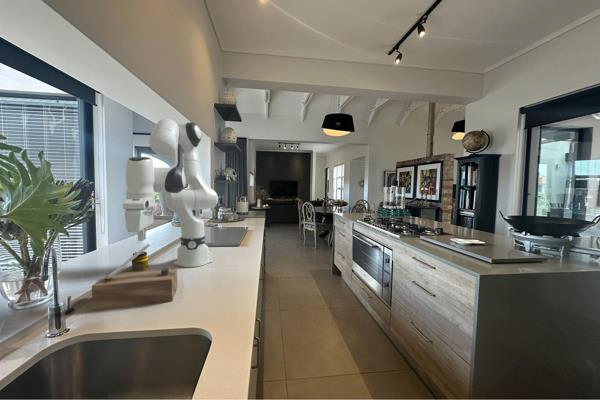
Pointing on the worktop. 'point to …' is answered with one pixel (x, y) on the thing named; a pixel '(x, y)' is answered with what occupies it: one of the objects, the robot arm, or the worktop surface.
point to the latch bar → (126, 262)
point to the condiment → (140, 262)
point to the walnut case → (135, 288)
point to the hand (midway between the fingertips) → (142, 240)
